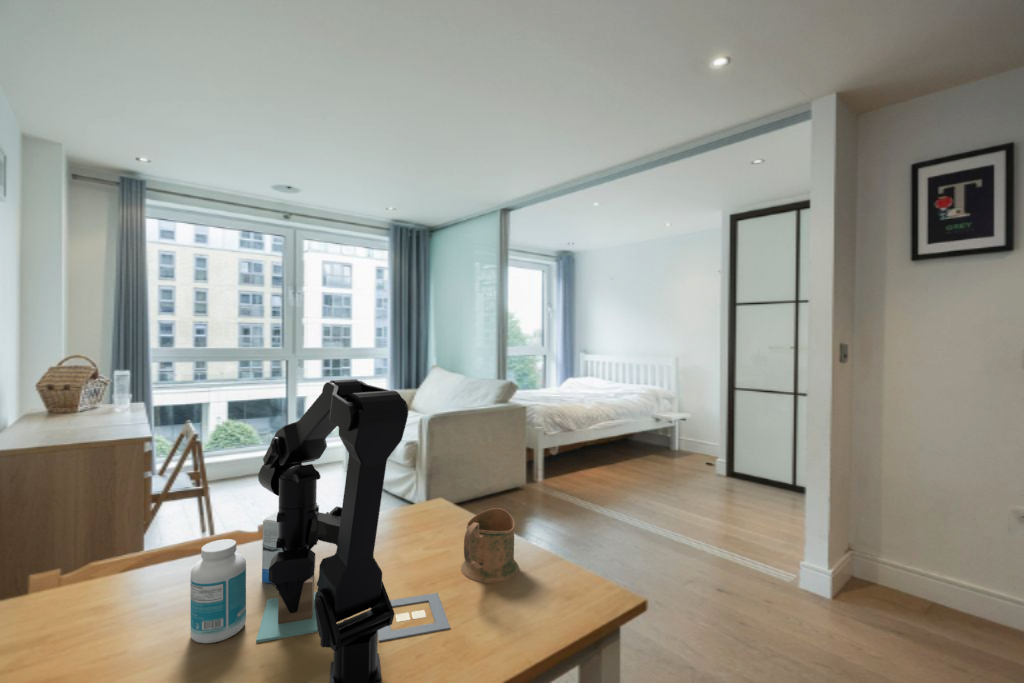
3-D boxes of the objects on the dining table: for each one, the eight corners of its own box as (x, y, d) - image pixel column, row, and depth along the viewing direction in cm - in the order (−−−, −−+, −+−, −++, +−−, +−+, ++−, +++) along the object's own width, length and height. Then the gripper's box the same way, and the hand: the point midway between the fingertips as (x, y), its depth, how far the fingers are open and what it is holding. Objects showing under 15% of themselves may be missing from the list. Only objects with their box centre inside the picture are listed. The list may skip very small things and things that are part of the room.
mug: (436, 592, 88) (437, 526, 88) (474, 552, 104) (475, 497, 104) (495, 604, 84) (497, 536, 84) (525, 561, 101) (526, 503, 101)
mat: (327, 630, 76) (327, 628, 76) (255, 642, 72) (256, 640, 72) (329, 592, 87) (329, 590, 87) (267, 601, 84) (267, 599, 84)
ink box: (283, 585, 89) (284, 522, 89) (260, 582, 90) (261, 519, 90) (311, 564, 98) (312, 506, 97) (290, 562, 99) (290, 504, 98)
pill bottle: (234, 612, 80) (235, 531, 80) (253, 629, 76) (255, 543, 76) (182, 632, 75) (183, 545, 75) (199, 653, 70) (201, 560, 70)
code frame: (450, 629, 77) (450, 627, 77) (378, 642, 73) (378, 640, 73) (437, 594, 87) (437, 592, 87) (374, 604, 83) (374, 602, 83)
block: (311, 618, 78) (312, 581, 78) (277, 624, 77) (278, 586, 76) (313, 602, 83) (314, 567, 83) (281, 607, 81) (282, 572, 81)
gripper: (349, 518, 73) (348, 620, 74) (348, 483, 91) (347, 565, 91) (268, 526, 70) (267, 633, 70) (283, 488, 87) (282, 573, 87)
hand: (296, 597), depth 80 cm, fingers open, 9 cm apart
